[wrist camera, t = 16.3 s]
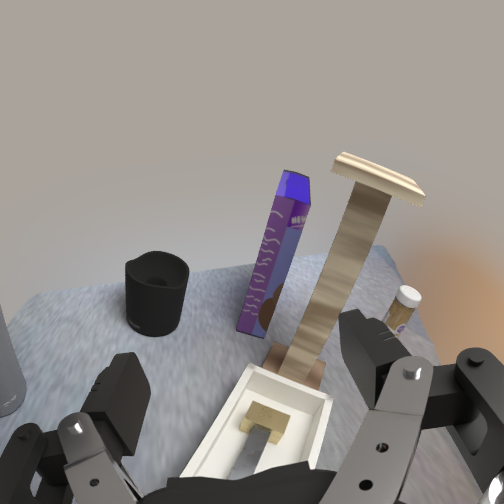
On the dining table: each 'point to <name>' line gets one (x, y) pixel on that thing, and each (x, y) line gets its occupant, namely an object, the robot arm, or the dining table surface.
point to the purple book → (276, 253)
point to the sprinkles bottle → (401, 309)
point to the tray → (285, 452)
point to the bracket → (341, 265)
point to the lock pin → (258, 437)
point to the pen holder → (155, 292)
